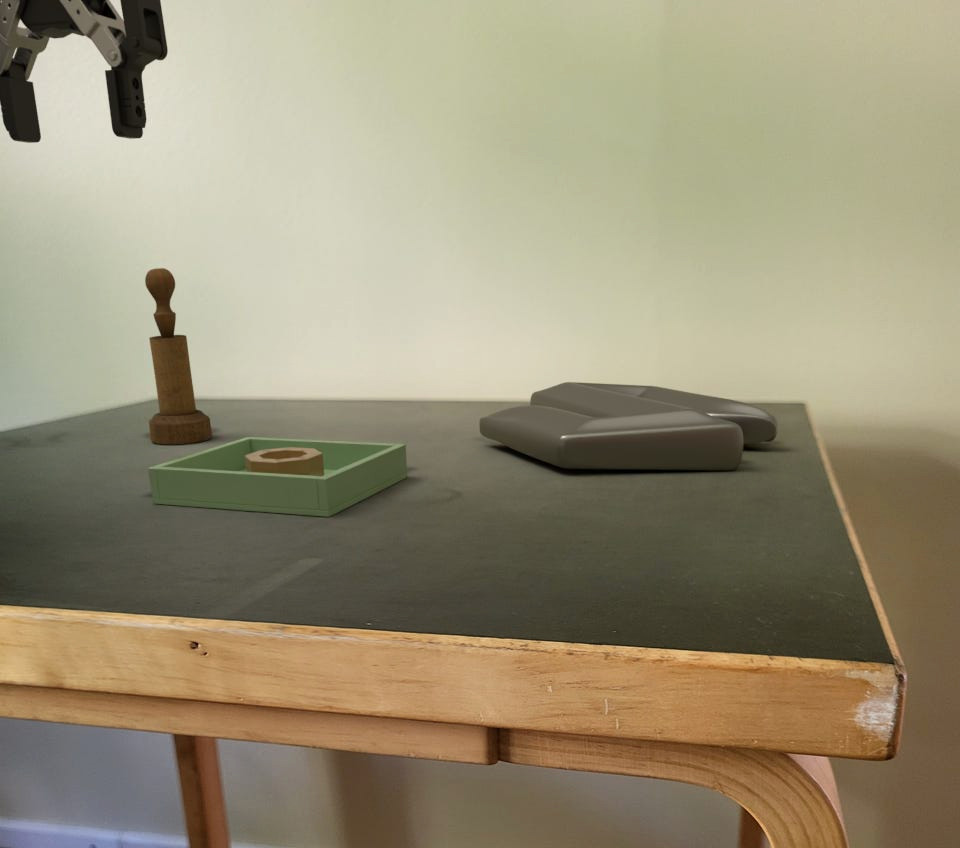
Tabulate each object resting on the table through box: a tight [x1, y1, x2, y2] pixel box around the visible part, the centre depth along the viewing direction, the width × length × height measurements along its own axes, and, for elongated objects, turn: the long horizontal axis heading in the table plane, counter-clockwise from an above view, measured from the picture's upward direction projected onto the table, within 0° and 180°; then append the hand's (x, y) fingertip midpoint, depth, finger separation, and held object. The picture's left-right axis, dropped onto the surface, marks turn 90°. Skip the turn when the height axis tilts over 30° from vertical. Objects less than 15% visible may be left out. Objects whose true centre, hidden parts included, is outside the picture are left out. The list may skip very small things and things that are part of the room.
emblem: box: [478, 381, 779, 472], centre depth 97 cm, size 28×5×28 cm
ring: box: [245, 447, 324, 477], centre depth 83 cm, size 6×6×3 cm
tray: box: [147, 436, 408, 518], centre depth 83 cm, size 17×15×3 cm
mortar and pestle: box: [144, 267, 213, 446], centre depth 106 cm, size 7×6×18 cm
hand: (76, 139), depth 65 cm, fingers open, 8 cm apart
